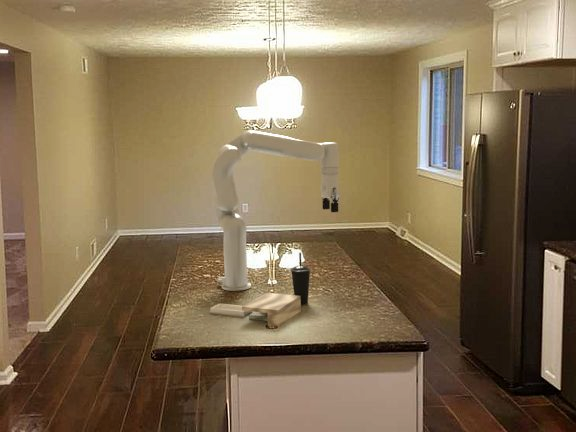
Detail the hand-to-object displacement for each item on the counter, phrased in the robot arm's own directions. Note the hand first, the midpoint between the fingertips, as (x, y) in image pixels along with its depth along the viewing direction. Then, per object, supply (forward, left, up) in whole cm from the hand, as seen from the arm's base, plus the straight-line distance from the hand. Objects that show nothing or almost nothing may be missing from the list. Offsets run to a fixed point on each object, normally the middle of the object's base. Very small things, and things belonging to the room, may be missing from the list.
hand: (330, 210), depth 312 cm
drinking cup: (+3, -40, -31) cm, 51 cm away
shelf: (0, -60, -30) cm, 68 cm away
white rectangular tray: (-17, -60, -30) cm, 70 cm away
